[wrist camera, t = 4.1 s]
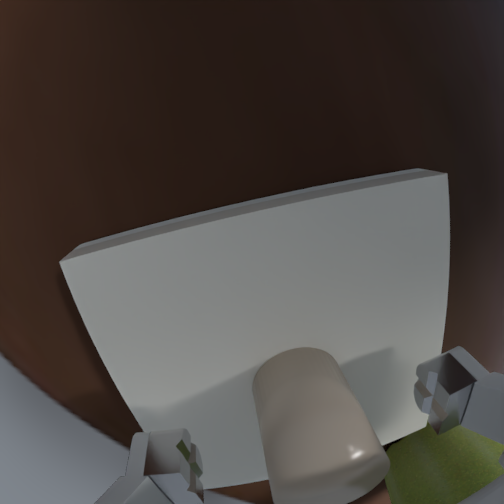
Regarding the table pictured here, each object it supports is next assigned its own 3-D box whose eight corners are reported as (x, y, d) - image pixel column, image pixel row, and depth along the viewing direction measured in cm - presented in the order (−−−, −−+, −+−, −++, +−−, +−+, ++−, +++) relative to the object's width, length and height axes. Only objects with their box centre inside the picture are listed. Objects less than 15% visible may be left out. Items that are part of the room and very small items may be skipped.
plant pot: (350, 501, 16) (388, 600, 8) (351, 424, 13) (424, 579, 5) (466, 448, 16) (519, 525, 8) (499, 354, 13) (593, 446, 5)
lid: (428, 170, 9) (555, 200, 4) (416, 413, 12) (466, 487, 8) (72, 250, 8) (-26, 342, 4) (187, 474, 12) (187, 566, 7)
